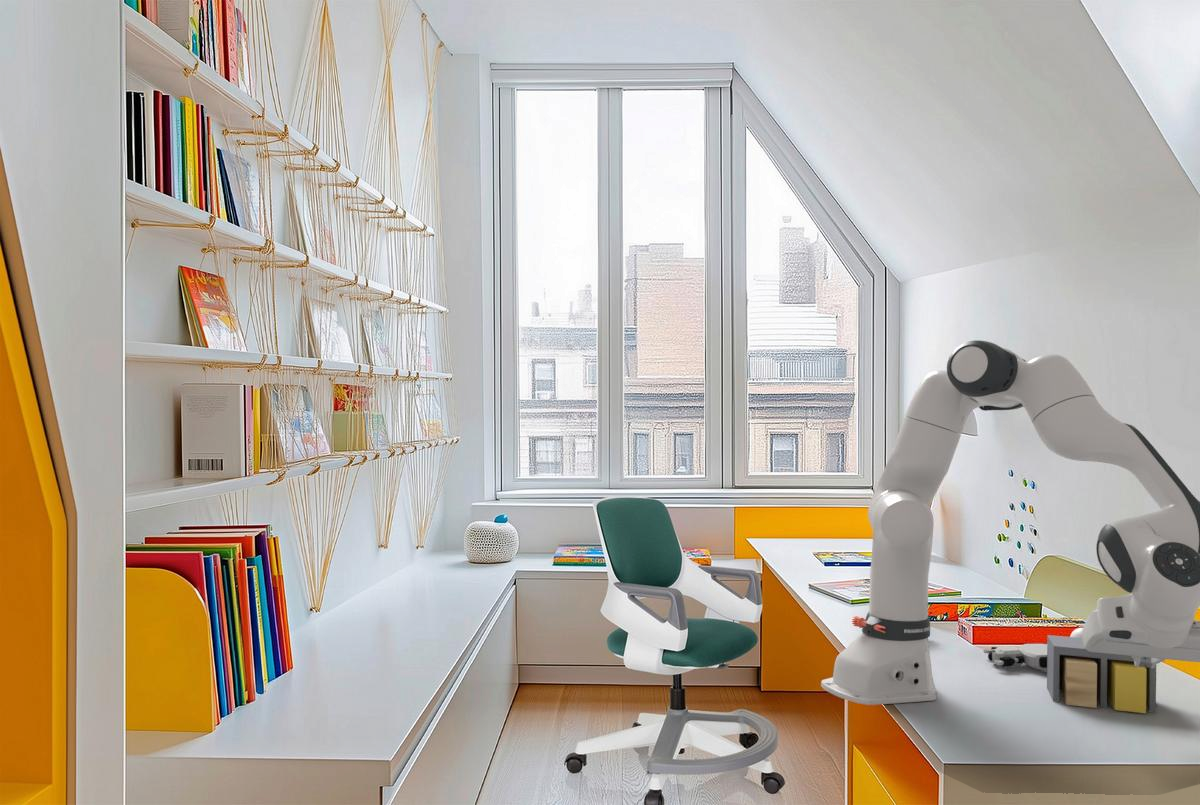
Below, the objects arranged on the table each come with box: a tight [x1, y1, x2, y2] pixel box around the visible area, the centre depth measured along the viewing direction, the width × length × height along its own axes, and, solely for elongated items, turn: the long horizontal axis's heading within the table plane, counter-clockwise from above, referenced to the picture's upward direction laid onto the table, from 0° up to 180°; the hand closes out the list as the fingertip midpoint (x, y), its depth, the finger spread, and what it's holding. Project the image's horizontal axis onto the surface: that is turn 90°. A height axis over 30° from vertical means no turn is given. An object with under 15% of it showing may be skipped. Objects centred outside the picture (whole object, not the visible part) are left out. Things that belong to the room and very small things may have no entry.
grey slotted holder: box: [1046, 634, 1157, 714], centre depth 173 cm, size 9×17×10 cm, turn 70°
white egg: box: [1069, 627, 1083, 638], centre depth 208 cm, size 8×6×6 cm
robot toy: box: [983, 643, 1047, 673], centre depth 195 cm, size 12×4×15 cm
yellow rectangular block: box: [1107, 659, 1147, 714], centre depth 170 cm, size 8×5×8 cm, turn 160°
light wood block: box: [1059, 655, 1098, 709], centre depth 172 cm, size 8×5×8 cm, turn 160°
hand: (1143, 663), depth 157 cm, fingers closed
